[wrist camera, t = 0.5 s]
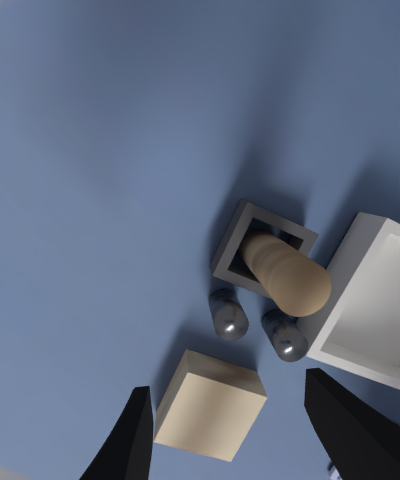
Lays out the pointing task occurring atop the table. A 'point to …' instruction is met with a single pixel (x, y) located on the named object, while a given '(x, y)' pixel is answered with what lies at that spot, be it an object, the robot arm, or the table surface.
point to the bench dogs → (274, 324)
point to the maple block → (209, 406)
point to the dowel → (286, 273)
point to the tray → (361, 304)
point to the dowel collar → (234, 235)
